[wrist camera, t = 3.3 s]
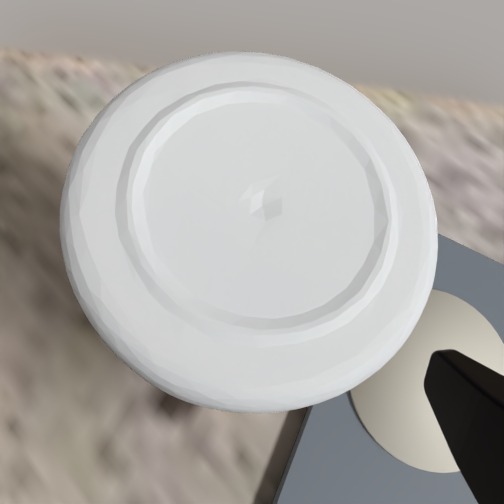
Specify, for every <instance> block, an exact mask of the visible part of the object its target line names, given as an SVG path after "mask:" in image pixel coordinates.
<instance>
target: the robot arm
mask: <svg viewBox="0 0 504 504" xmlns="http://www.w3.org/2000/svg"><path fill="white" fill-rule="evenodd" d="M424 390H425V394H426V396H427V399H428V401H429V403H430V405H431V408H432V410H433V412H434V415H435V417H436V419H437V422H438V424H439V426H440V428H441V431H442V433H443V435H444V438H445V440H446V442H447V445H448V447H449V449H450V452H451V454H452V456H453V458H454V460H455V462H456V464H457V466H458V468H459V470H460V472H461V474H462V476H463V477H464V479H465V481H466V483H467V485H468V486H469V488H470V490H471V492H472V494H473V495H474V497H475V499H476V501H477V503H478V504H504V376H503V375H501V374H499V373H498V372H496V371H494V370H492V369H490V368H488V367H486V366H485V365H483V364H481V363H479V362H477V361H475V360H473V359H472V358H470V357H468V356H466V355H464V354H462V353H460V352H459V351H457V350H454V349H445V350H436V351H434V352H433V353H432V354H431V357H430V360H429V364H428V367H427V371H426V375H425V378H424Z"/></svg>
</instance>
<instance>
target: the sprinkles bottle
mask: <svg viewBox="0 0 504 504" xmlns="http://www.w3.org/2000/svg"><path fill="white" fill-rule="evenodd" d="M59 232H60V241H61V249H62V254H63V258H64V263H65V267H66V272H67V275H68V278H69V281H70V284H71V286H72V289H73V292H74V294H75V296H76V298H77V300H78V302H79V304H80V306H81V308H82V310H83V312H84V313H85V315H86V317H87V318H88V320H89V322H90V323H91V325H92V326H93V327H94V329H95V330H96V332H97V333H98V334H99V336H100V337H101V338H102V339H103V341H104V342H105V343H106V344H107V345H108V346H109V348H110V349H111V350H112V351H113V352H114V353H115V354H116V355H117V356H118V357H119V358H120V359H121V360H122V361H123V362H124V363H125V364H126V365H127V366H129V367H130V368H131V369H132V370H133V371H135V372H136V373H137V374H138V375H140V376H141V377H142V378H143V379H145V380H146V381H147V382H149V383H150V384H152V385H154V386H155V387H157V388H159V389H161V390H162V391H164V392H166V393H168V394H170V395H172V396H174V397H176V398H179V399H181V400H183V401H186V402H189V403H192V404H195V405H199V406H202V407H206V408H210V409H216V410H221V411H229V412H238V413H272V412H282V411H288V410H294V409H300V408H303V407H307V406H311V405H315V404H318V403H321V402H324V401H326V400H329V399H331V398H334V397H337V396H339V395H341V394H343V393H345V392H346V391H348V390H350V389H352V388H354V387H355V386H357V385H359V384H360V383H362V382H363V381H365V380H366V379H367V378H369V377H370V376H371V375H373V374H374V373H375V372H377V371H378V370H379V369H381V368H382V367H383V366H384V365H385V364H386V363H387V362H388V361H389V360H390V359H391V358H392V357H393V356H394V355H395V354H396V353H397V351H398V350H399V349H400V348H401V347H402V346H403V344H404V343H405V341H406V340H407V338H408V337H409V336H410V334H411V332H412V331H413V329H414V327H415V325H416V324H417V322H418V320H419V318H420V316H421V314H422V312H423V309H424V307H425V305H426V303H427V300H428V297H429V295H430V292H431V289H432V286H433V282H434V277H435V271H436V263H437V254H438V234H437V217H436V212H435V207H434V202H433V197H432V194H431V191H430V188H429V186H428V183H427V180H426V177H425V174H424V172H423V170H422V168H421V165H420V163H419V161H418V159H417V157H416V155H415V154H414V152H413V150H412V149H411V147H410V145H409V144H408V142H407V141H406V139H405V137H404V136H403V135H402V134H401V132H400V131H399V130H398V128H397V127H396V126H395V125H394V123H393V122H392V121H391V120H390V119H389V118H388V117H387V116H386V115H385V114H384V113H383V112H382V111H381V110H380V109H379V108H378V107H377V106H376V105H375V104H373V103H372V102H371V101H370V100H369V99H368V98H367V97H365V96H364V95H363V94H362V93H360V92H359V91H358V90H356V89H355V88H354V87H352V86H351V85H349V84H348V83H346V82H344V81H342V80H341V79H339V78H337V77H335V76H333V75H332V74H330V73H328V72H326V71H323V70H322V69H319V68H317V67H315V66H312V65H309V64H306V63H304V62H301V61H298V60H295V59H292V58H288V57H283V56H278V55H273V54H267V53H258V52H246V51H244V52H218V53H209V54H204V55H199V56H194V57H190V58H186V59H182V60H179V61H176V62H173V63H171V64H168V65H166V66H163V67H161V68H158V69H156V70H154V71H152V72H151V73H149V74H147V75H145V76H143V77H142V78H140V79H138V80H137V81H135V82H134V83H132V84H131V85H130V86H128V87H127V88H125V89H124V90H123V91H122V92H121V93H119V94H118V95H117V96H116V97H115V98H113V99H112V100H111V101H110V102H109V103H108V104H107V105H106V107H105V108H104V109H103V110H102V111H101V112H100V113H99V114H98V115H97V116H96V118H95V119H94V121H93V122H92V123H91V125H90V126H89V128H88V129H87V130H86V131H85V133H84V134H83V136H82V138H81V140H80V141H79V144H78V147H77V149H76V151H75V153H74V155H73V158H72V160H71V163H70V165H69V168H68V172H67V175H66V179H65V183H64V187H63V191H62V197H61V203H60V230H59Z"/></svg>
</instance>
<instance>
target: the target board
mask: <svg viewBox="0 0 504 504" xmlns="http://www.w3.org/2000/svg"><path fill="white" fill-rule="evenodd" d="M437 234H438V233H437ZM445 349H454V350H457V351H459V352H460V353H462V354H464V355H466V356H468V357H470V358H472V359H473V360H475V361H477V362H479V363H481V364H483V365H485V366H486V367H488V368H490V369H492V370H494V371H496V372H498V373H499V374H501V375H503V376H504V265H503V264H501V263H499V262H496V261H494V260H492V259H490V258H488V257H486V256H484V255H482V254H480V253H478V252H476V251H474V250H471V249H469V248H467V247H465V246H463V245H461V244H459V243H457V242H455V241H453V240H451V239H449V238H447V237H444V236H442V235H440V234H438V254H437V263H436V271H435V277H434V282H433V286H432V289H431V292H430V295H429V297H428V300H427V303H426V305H425V307H424V309H423V312H422V314H421V316H420V318H419V320H418V322H417V324H416V325H415V327H414V329H413V331H412V332H411V334H410V336H409V337H408V338H407V340H406V341H405V343H404V344H403V346H402V347H401V348H400V349H399V350H398V351H397V353H396V354H395V355H394V356H393V357H392V358H391V359H390V360H389V361H388V362H387V363H386V364H385V365H384V366H383V367H382V368H381V369H379V370H378V371H377V372H375V373H374V374H373V375H371V376H370V377H369V378H367V379H366V380H365V381H363V382H362V383H360V384H359V385H357V386H355V387H354V388H352V389H350V390H348V391H346V392H345V393H343V394H341V395H339V396H337V397H334V398H331V399H329V400H326V401H324V402H321V403H318V404H315V405H311V406H309V407H308V409H307V412H306V415H305V417H304V420H303V423H302V425H301V428H300V431H299V433H298V436H297V439H296V441H295V444H294V447H293V449H292V452H291V455H290V457H289V460H288V463H287V465H286V468H285V471H284V473H283V476H282V479H281V481H280V484H279V487H278V489H277V492H276V495H275V497H274V500H273V503H272V504H478V503H477V501H476V499H475V497H474V495H473V494H472V492H471V490H470V488H469V486H468V485H467V483H466V481H465V479H464V477H463V476H462V474H461V472H460V470H459V468H458V466H457V464H456V462H455V460H454V458H453V456H452V454H451V452H450V449H449V447H448V445H447V442H446V440H445V438H444V435H443V433H442V431H441V428H440V426H439V424H438V422H437V419H436V417H435V415H434V412H433V410H432V408H431V405H430V403H429V401H428V399H427V396H426V394H425V390H424V378H425V375H426V371H427V367H428V364H429V360H430V357H431V354H432V353H433V352H434V351H436V350H445Z"/></svg>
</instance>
